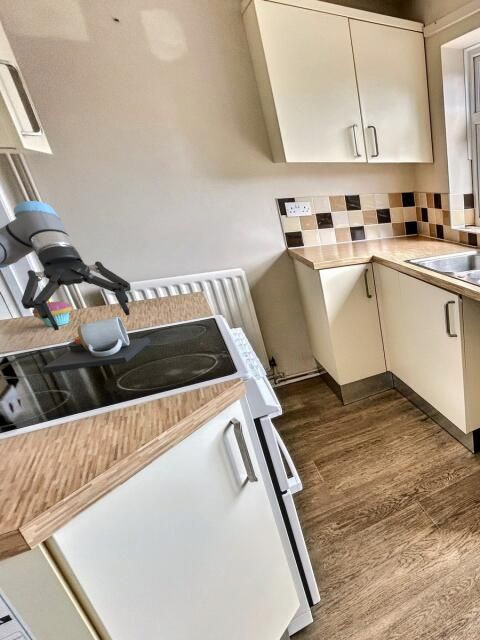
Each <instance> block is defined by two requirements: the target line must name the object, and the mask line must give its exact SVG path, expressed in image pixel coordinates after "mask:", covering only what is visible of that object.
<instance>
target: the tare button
mask: <svg viewBox="0 0 480 640" xmlns="http://www.w3.org/2000/svg"><path fill="white" fill-rule="evenodd" d="M73 341H75V342H76V344H82V343H81V341H80V338H79V336H76V337H74V338H73Z"/></svg>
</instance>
